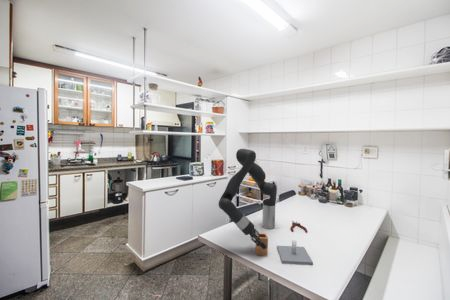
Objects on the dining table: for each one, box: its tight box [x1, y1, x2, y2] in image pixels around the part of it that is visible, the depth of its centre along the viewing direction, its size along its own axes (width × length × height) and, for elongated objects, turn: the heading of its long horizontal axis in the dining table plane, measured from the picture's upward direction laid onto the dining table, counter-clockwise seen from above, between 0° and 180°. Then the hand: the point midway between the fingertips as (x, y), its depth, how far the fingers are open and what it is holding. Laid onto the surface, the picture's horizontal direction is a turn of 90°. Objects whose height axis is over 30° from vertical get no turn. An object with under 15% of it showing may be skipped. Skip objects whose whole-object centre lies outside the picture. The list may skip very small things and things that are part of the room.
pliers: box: [290, 220, 308, 234], centre depth 161 cm, size 12×20×3 cm, turn 173°
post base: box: [276, 239, 314, 266], centre depth 120 cm, size 16×16×8 cm
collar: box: [255, 232, 269, 256], centre depth 124 cm, size 6×6×10 cm
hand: (264, 245), depth 124 cm, fingers closed on collar, 6 cm apart
